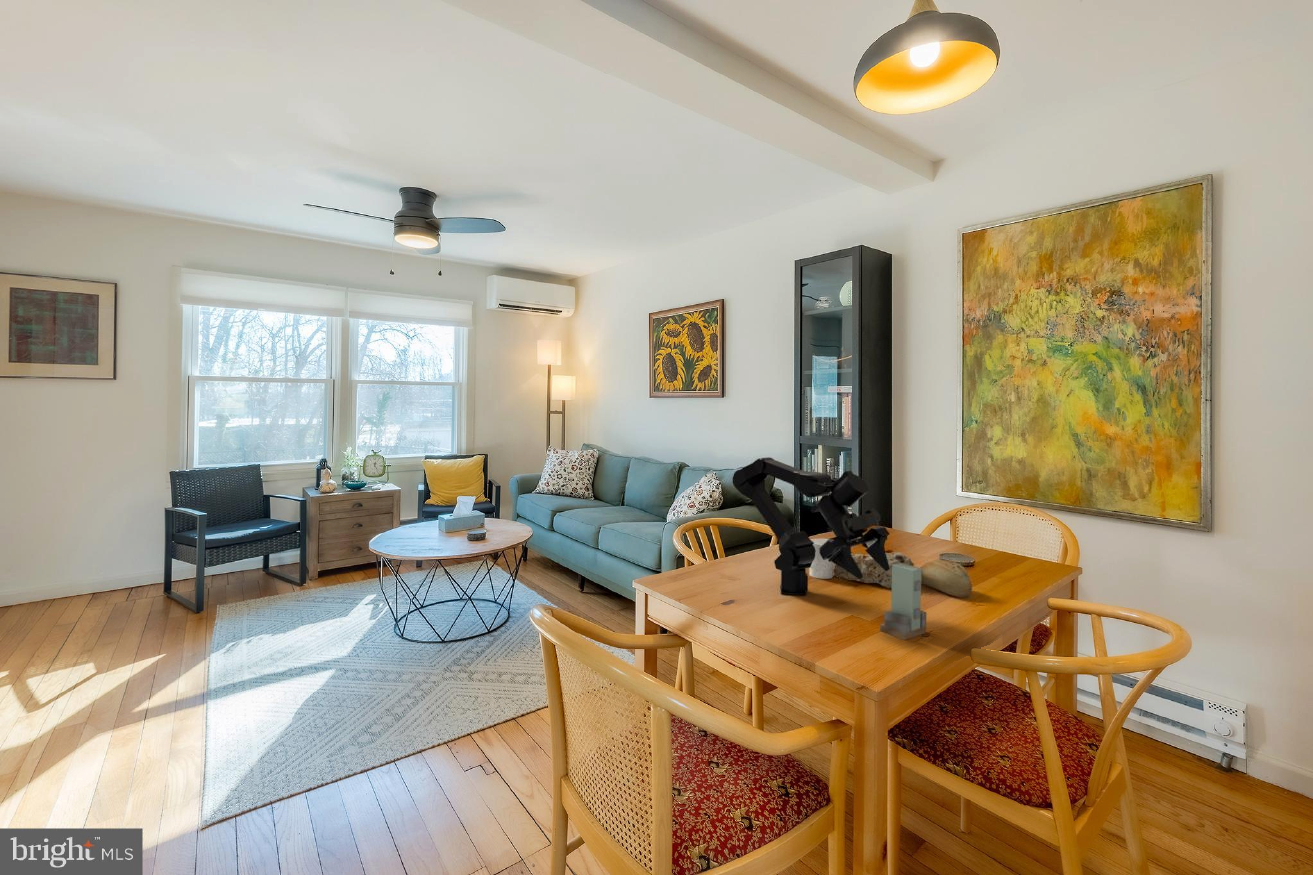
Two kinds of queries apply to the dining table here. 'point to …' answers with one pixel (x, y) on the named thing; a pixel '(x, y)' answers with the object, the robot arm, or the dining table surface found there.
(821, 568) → the white cup
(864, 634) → the dining table surface
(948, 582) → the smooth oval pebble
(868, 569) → the rock
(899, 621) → the hinge jig
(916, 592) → the pale green tall block
